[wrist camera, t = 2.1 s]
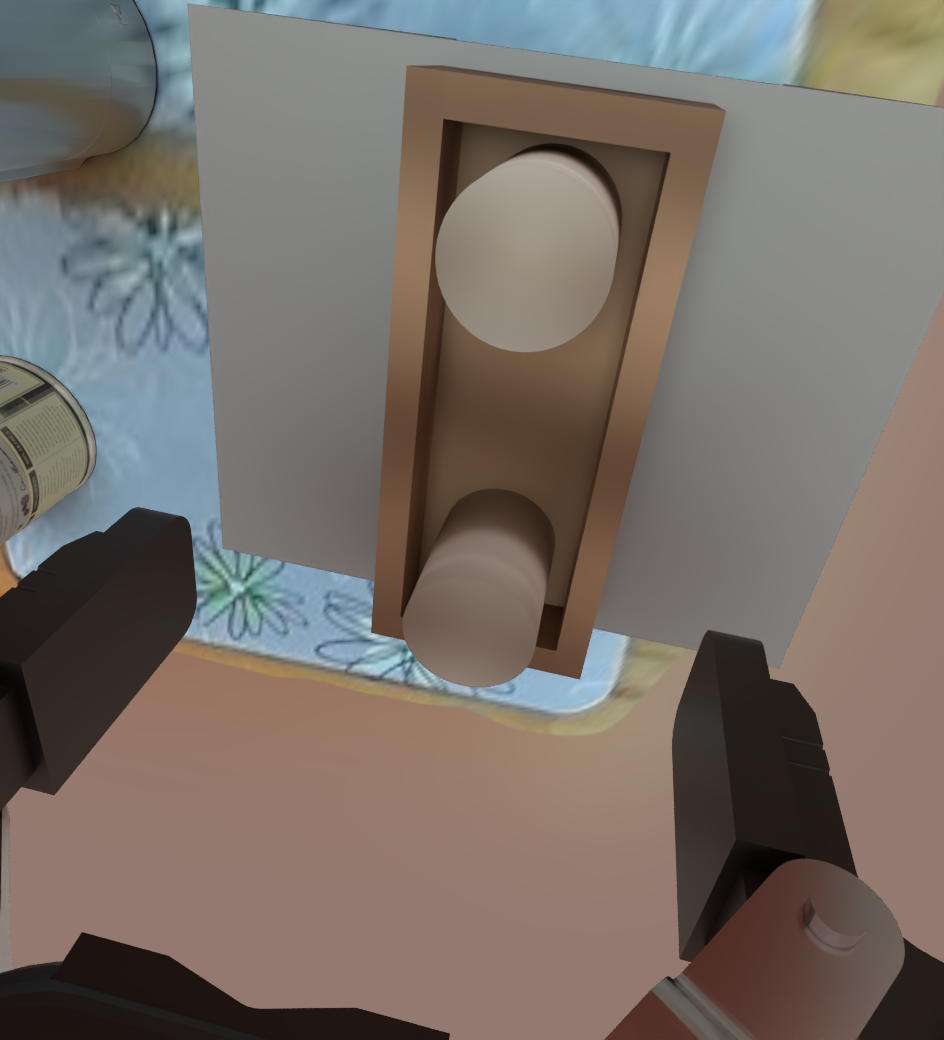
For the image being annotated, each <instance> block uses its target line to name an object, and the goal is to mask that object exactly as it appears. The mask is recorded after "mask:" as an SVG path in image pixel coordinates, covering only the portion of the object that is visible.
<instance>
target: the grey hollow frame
mask: <svg viewBox="0 0 944 1040" xmlns="http://www.w3.org/2000/svg"><path fill="white" fill-rule="evenodd" d="M188 17H189V32H190V48H191V63H192V79H193V94H194V110H195V125H196V141H197V156H198V172H199V187H200V203H201V218H202V234H203V249H204V264H205V280H206V295H207V311H208V326H209V342H210V357H211V373H212V388H213V404H214V419H215V435H216V450H217V466H218V481H219V497H220V512H221V528H222V543H223V549H228V550H233V551H237V552H242V553H247V554H251V555H256V556H260V557H265V558H270V559H274V560H279V561H284V562H288V563H293V564H297V565H302V566H307V567H311V568H316V569H321V570H325V571H330V572H334V573H339V574H344V575H348V576H353V577H358V578H362V579H367V580H372V581H374V580H375V564H376V548H377V532H378V515H379V499H380V483H381V467H382V451H383V435H384V419H385V403H386V387H387V371H388V355H389V338H390V322H391V306H392V290H393V274H394V258H395V242H396V226H397V210H398V194H399V178H400V161H401V145H402V129H403V113H404V97H405V81H406V66H409V65H444V66H451V67H458V68H465V69H472V70H479V71H486V72H493V73H500V74H507V75H514V76H521V77H528V78H535V79H542V80H549V81H556V82H563V83H571V84H578V85H585V86H592V87H599V88H606V89H613V90H620V91H627V92H634V93H641V94H648V95H655V96H662V97H669V98H676V99H683V100H690V101H697V102H704V103H712V104H715V105H717V106H719V107H720V108H722V109H724V110H725V111H726V114H725V118H724V122H723V126H722V130H721V133H720V137H719V141H718V145H717V149H716V153H715V157H714V161H713V164H712V168H711V172H710V176H709V180H708V184H707V188H706V192H705V196H704V199H703V203H702V207H701V211H700V215H699V219H698V223H697V227H696V230H695V234H694V238H693V242H692V246H691V250H690V254H689V258H688V262H687V265H686V269H685V273H684V277H683V281H682V285H681V289H680V293H679V296H678V300H677V304H676V308H675V312H674V316H673V320H672V324H671V327H670V331H669V335H668V339H667V343H666V347H665V351H664V355H663V359H662V362H661V366H660V370H659V374H658V378H657V382H656V386H655V390H654V393H653V397H652V401H651V405H650V409H649V413H648V417H647V421H646V424H645V428H644V432H643V436H642V440H641V444H640V448H639V452H638V456H637V459H636V463H635V467H634V471H633V475H632V479H631V483H630V487H629V490H628V494H627V498H626V502H625V506H624V510H623V514H622V518H621V521H620V525H619V529H618V533H617V537H616V541H615V545H614V549H613V553H612V556H611V560H610V564H609V568H608V572H607V576H606V580H605V584H604V587H603V591H602V595H601V599H600V603H599V607H598V611H597V615H596V618H595V622H594V626H593V628H594V629H598V630H603V631H608V632H612V633H617V634H622V635H626V636H631V637H635V638H640V639H645V640H649V641H654V642H659V643H663V644H668V645H673V646H677V647H682V648H686V649H691V650H696V651H698V649H699V647H700V644H701V641H702V639H703V637H704V635H705V633H706V632H707V631H708V630H713V631H718V632H722V633H727V634H732V635H736V636H741V637H746V638H751V639H755V640H760V641H761V642H762V643H763V646H764V650H765V655H766V660H767V665H768V666H770V667H775V668H779V667H780V665H781V663H782V661H783V658H784V656H785V654H786V651H787V649H788V647H789V645H790V642H791V640H792V638H793V635H794V633H795V631H796V628H797V626H798V624H799V622H800V619H801V617H802V615H803V613H804V610H805V608H806V605H807V603H808V601H809V599H810V597H811V594H812V592H813V590H814V587H815V585H816V583H817V581H818V578H819V576H820V573H821V571H822V569H823V567H824V565H825V562H826V560H827V558H828V555H829V553H830V551H831V549H832V546H833V544H834V542H835V539H836V537H837V535H838V533H839V530H840V528H841V525H842V523H843V521H844V519H845V517H846V514H847V512H848V510H849V507H850V505H851V503H852V501H853V498H854V496H855V494H856V491H857V489H858V487H859V485H860V482H861V480H862V477H863V475H864V473H865V471H866V469H867V466H868V464H869V462H870V459H871V457H872V455H873V453H874V450H875V448H876V446H877V443H878V441H879V439H880V437H881V434H882V432H883V430H884V427H885V425H886V423H887V421H888V418H889V416H890V414H891V411H892V409H893V407H894V405H895V402H896V400H897V398H898V395H899V393H900V391H901V389H902V386H903V384H904V381H905V379H906V377H907V375H908V372H909V370H910V368H911V366H912V363H913V361H914V359H915V357H916V354H917V352H918V350H919V347H920V345H921V343H922V341H923V338H924V336H925V334H926V331H927V329H928V327H929V325H930V322H931V320H932V318H933V315H934V313H935V311H936V309H937V306H938V304H939V302H940V299H941V297H942V295H943V293H944V107H938V106H931V105H925V104H918V103H911V102H904V101H897V100H891V99H884V98H877V97H870V96H863V95H856V94H850V93H843V92H836V91H829V90H822V89H815V88H808V87H801V86H793V85H786V84H783V85H776V84H769V83H762V82H755V81H747V80H740V79H733V78H726V77H718V76H711V75H704V74H697V73H689V72H682V71H675V70H668V69H660V68H653V67H646V66H639V65H631V64H624V63H617V62H610V61H602V60H595V59H588V58H581V57H574V56H566V55H559V54H552V53H545V52H537V51H530V50H523V49H516V48H508V47H501V46H494V45H487V44H479V43H472V42H465V41H458V40H456V39H453V38H445V37H438V36H431V35H424V34H416V33H408V32H401V31H393V30H386V29H378V28H370V27H363V26H355V25H348V24H340V23H332V22H325V21H317V20H310V19H302V18H294V17H287V16H279V15H271V14H264V13H256V12H249V11H241V10H233V9H226V8H218V7H211V6H203V5H195V4H188Z"/></svg>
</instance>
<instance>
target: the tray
mask: <svg viewBox="0 0 944 1040" xmlns="http://www.w3.org/2000/svg"><path fill="white" fill-rule="evenodd" d="M725 114H726V111H725V110H724V109H722V108H720V107H719V106H717V105H715V104H712V103H704V102H697V101H690V100H683V99H676V98H669V97H662V96H655V95H648V94H641V93H634V92H627V91H620V90H613V89H606V88H599V87H592V86H585V85H578V84H571V83H563V82H556V81H549V80H542V79H535V78H528V77H521V76H514V75H507V74H500V73H493V72H486V71H479V70H472V69H465V68H458V67H451V66H444V65H409V66H406V81H405V97H404V113H403V129H402V145H401V161H400V178H399V194H398V210H397V226H396V242H395V258H394V274H393V290H392V306H391V322H390V338H389V355H388V371H387V387H386V403H385V419H384V435H383V451H382V467H381V483H380V499H379V515H378V532H377V548H376V564H375V580H374V596H373V612H372V628H371V633H375V634H379V635H384V636H388V637H393V638H397V639H402V640H405V641H406V643H407V646H408V648H409V649H410V651H411V653H412V654H413V656H414V657H415V658H416V659H417V660H418V662H419V663H421V664H422V665H423V666H424V667H425V668H426V669H427V670H429V671H430V672H432V673H433V674H435V675H436V676H438V677H440V678H442V679H444V680H446V681H449V682H452V683H455V684H458V685H463V686H468V687H490V686H495V685H499V684H503V683H505V682H508V681H510V680H512V679H514V678H515V677H517V676H518V675H519V674H521V673H522V672H523V671H524V670H525V669H526V667H527V668H532V669H536V670H541V671H545V672H550V673H554V674H559V675H563V676H568V677H572V678H576V679H580V677H581V673H582V669H583V665H584V661H585V657H586V653H587V650H588V646H589V642H590V638H591V634H592V630H593V626H594V622H595V618H596V615H597V611H598V607H599V603H600V599H601V595H602V591H603V587H604V584H605V580H606V576H607V572H608V568H609V564H610V560H611V556H612V553H613V549H614V545H615V541H616V537H617V533H618V529H619V525H620V521H621V518H622V514H623V510H624V506H625V502H626V498H627V494H628V490H629V487H630V483H631V479H632V475H633V471H634V467H635V463H636V459H637V456H638V452H639V448H640V444H641V440H642V436H643V432H644V428H645V424H646V421H647V417H648V413H649V409H650V405H651V401H652V397H653V393H654V390H655V386H656V382H657V378H658V374H659V370H660V366H661V362H662V359H663V355H664V351H665V347H666V343H667V339H668V335H669V331H670V327H671V324H672V320H673V316H674V312H675V308H676V304H677V300H678V296H679V293H680V289H681V285H682V281H683V277H684V273H685V269H686V265H687V262H688V258H689V254H690V250H691V246H692V242H693V238H694V234H695V230H696V227H697V223H698V219H699V215H700V211H701V207H702V203H703V199H704V196H705V192H706V188H707V184H708V180H709V176H710V172H711V168H712V164H713V161H714V157H715V153H716V149H717V145H718V141H719V137H720V133H721V130H722V126H723V122H724V118H725Z"/></svg>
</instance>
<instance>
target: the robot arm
mask: <svg viewBox="0 0 944 1040" xmlns="http://www.w3.org/2000/svg"><path fill="white" fill-rule="evenodd" d="M155 91H156V64H155V59H154V54H153V49H152V43H151V40H150V37H149V35H148V32H147V29H146V26H145V23H144V21H143V19H142V17H141V15H140V13H139V11H138V9H137V7H136V6H135V4H134V2H133V0H0V182H5V181H11V180H16V179H22V178H27V177H33V176H38V175H44V174H49V173H55V172H60V171H66V170H71V169H77V168H79V167H81V165H82V164H83V162H84V161H85V160H86V159H87V158H88V157H90V156H96V155H102V154H108V153H112V152H114V151H117V150H119V149H121V148H124V147H125V146H127V145H128V144H129V143H130V142H131V141H133V140H134V139H135V138H136V137H137V136H138V135H139V133H140V132H141V130H142V129H143V128H144V126H145V125H146V123H147V121H148V118H149V115H150V113H151V110H152V108H153V103H154V97H155ZM196 603H197V592H196V580H195V569H194V558H193V547H192V536H191V528H190V524H189V522H188V520H187V519H186V518H185V517H182V516H178V515H173V514H168V513H164V512H159V511H154V510H149V509H145V508H140V507H136V508H133V509H131V510H130V511H128V512H127V513H126V514H125V515H124V516H122V517H121V518H120V519H119V520H118V521H117V522H116V523H114V524H113V525H112V526H111V527H110V528H109V529H107V530H106V531H105V532H104V533H103V532H99V531H95V532H93V533H91V534H89V535H86V536H84V537H82V538H80V539H77V540H75V541H73V542H71V543H68V544H66V545H64V546H62V547H61V548H60V549H58V550H57V551H56V552H55V553H54V554H52V555H51V556H50V557H49V558H47V559H46V560H45V561H44V562H43V563H41V564H40V565H39V566H38V570H37V571H34V570H33V571H32V572H30V573H29V574H28V575H27V576H26V577H24V578H23V579H22V580H21V581H20V582H18V586H17V587H16V588H13V587H12V588H11V589H10V590H9V591H7V592H6V593H5V594H4V595H3V596H1V597H0V1040H449V1036H450V1034H449V1033H446V1032H442V1031H438V1030H434V1029H431V1028H427V1027H424V1026H420V1025H417V1024H413V1023H409V1022H406V1021H402V1020H399V1019H395V1018H391V1017H388V1016H384V1015H380V1014H376V1013H373V1012H370V1011H366V1010H362V1009H359V1008H298V1009H297V1008H296V1009H295V1008H293V1009H256V1008H251V1007H247V1006H245V1005H243V1004H241V1003H240V1002H238V1001H237V1000H235V999H234V998H232V997H230V996H229V995H227V994H226V993H225V992H223V991H221V990H220V989H218V988H217V987H215V986H214V985H212V984H211V983H209V982H208V981H206V980H205V979H203V978H202V977H200V976H199V975H197V974H195V973H194V972H192V971H191V970H189V969H188V968H186V967H185V966H183V965H182V964H180V963H179V962H177V961H176V960H174V959H173V958H171V957H170V956H167V955H163V954H160V953H156V952H152V951H149V950H145V949H141V948H138V947H134V946H131V945H127V944H123V943H120V942H116V941H112V940H109V939H105V938H102V937H98V936H94V935H91V934H87V933H83V932H82V933H81V935H80V936H79V938H78V939H77V941H76V942H75V944H74V945H73V947H72V949H71V950H70V952H69V953H68V955H67V956H66V958H65V959H64V961H63V962H51V963H44V964H37V965H29V966H26V967H21V968H17V969H14V966H13V962H12V955H11V947H10V934H9V892H10V889H9V888H10V887H9V886H10V882H9V881H10V816H9V810H8V807H7V803H8V801H10V799H11V798H12V797H13V796H14V795H15V794H16V792H17V791H18V790H19V789H20V788H21V787H24V788H28V789H32V790H36V791H40V792H44V793H48V794H51V795H55V794H56V793H57V791H58V790H59V789H60V788H61V786H62V785H63V784H64V783H65V782H66V780H67V779H68V778H69V777H70V775H71V774H72V773H73V772H74V770H75V769H76V768H77V767H78V765H79V764H80V763H81V762H82V760H83V759H84V758H85V757H86V755H87V754H88V753H89V752H90V751H91V749H92V748H93V747H94V746H95V745H96V743H97V742H98V741H99V740H100V738H101V737H102V736H103V735H104V733H105V732H106V731H107V730H108V729H109V727H110V726H111V725H112V724H113V722H114V721H115V720H116V719H117V717H118V716H119V715H120V714H121V712H122V711H123V710H124V709H125V708H126V706H127V705H128V704H129V703H130V701H131V700H132V699H133V698H134V696H135V695H136V694H137V693H138V691H139V690H140V689H141V688H142V687H143V685H144V684H145V683H146V682H147V680H148V679H149V678H150V677H151V676H152V674H153V673H154V672H155V671H156V669H157V668H158V667H159V666H160V664H161V663H162V662H163V661H164V659H165V658H166V657H167V656H168V655H169V653H170V652H171V651H172V650H173V648H174V647H175V646H176V645H177V643H178V642H179V641H180V640H181V639H182V637H183V636H184V635H185V633H186V632H187V630H188V628H189V626H190V624H191V622H192V619H193V616H194V613H195V609H196ZM672 758H673V759H672V760H673V787H674V815H675V843H676V871H677V901H678V927H679V957H680V959H681V960H685V961H689V962H691V963H690V964H689V965H688V966H687V967H686V968H685V969H684V970H683V971H682V973H680V974H679V975H678V976H677V977H676V978H675V979H672V978H671V977H666V978H664V979H662V980H661V981H660V982H659V983H658V984H656V985H655V986H654V987H653V988H652V989H651V990H650V991H649V992H648V993H647V994H646V995H645V996H644V997H643V998H642V1000H641V1001H640V1002H639V1003H638V1004H637V1005H636V1006H635V1007H634V1008H633V1009H632V1010H631V1011H630V1012H629V1014H628V1015H627V1016H626V1017H625V1018H624V1019H623V1020H622V1021H621V1022H620V1023H619V1024H618V1026H616V1028H615V1029H614V1030H613V1031H612V1032H611V1033H610V1034H609V1035H608V1036H607V1037H606V1038H605V1039H604V1040H944V963H943V962H941V961H939V960H937V959H936V958H934V957H932V956H930V955H929V954H927V953H925V952H923V951H922V950H920V949H918V948H917V947H916V946H914V945H913V944H911V943H910V942H909V941H907V940H906V939H905V938H903V937H902V933H901V930H900V928H899V926H898V923H897V921H896V919H895V918H894V916H893V914H892V913H891V911H890V909H889V908H888V907H887V905H886V904H885V903H884V902H883V900H882V899H881V898H880V897H879V896H878V895H877V894H876V893H875V892H874V891H873V890H872V889H871V888H870V887H869V886H868V885H866V884H865V883H864V882H863V881H862V880H860V879H859V878H858V876H857V873H856V869H855V865H854V861H853V858H852V853H851V849H850V846H849V842H848V838H847V834H846V831H845V826H844V823H843V819H842V815H841V811H840V807H839V803H838V799H837V796H836V791H835V787H834V784H833V780H832V776H829V770H830V768H829V764H828V760H827V757H826V753H825V750H823V741H822V737H821V734H820V730H819V725H818V722H817V718H816V714H815V712H814V711H813V710H812V708H811V707H810V706H809V704H808V703H807V701H806V700H805V699H804V698H803V696H802V695H801V693H800V692H799V691H798V689H797V688H796V687H795V685H794V684H792V683H787V682H782V681H778V680H773V679H770V675H769V670H768V665H767V660H766V655H765V650H764V646H763V643H762V642H761V641H760V640H755V639H751V638H746V637H741V636H736V635H732V634H727V633H722V632H718V631H713V630H708V631H707V632H706V633H705V635H704V637H703V639H702V641H701V644H700V647H699V649H698V652H697V655H696V658H695V661H694V663H693V667H692V669H691V672H690V675H689V678H688V680H687V683H686V686H685V689H684V692H683V694H682V697H681V700H680V703H679V706H678V709H677V713H676V718H675V723H674V729H673V739H672Z"/></svg>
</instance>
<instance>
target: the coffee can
mask: <svg viewBox="0 0 944 1040" xmlns="http://www.w3.org/2000/svg"><path fill="white" fill-rule="evenodd" d="M95 457H96V446H95V440H94V435H93V432H92V429H91V426H90V424H89V422H88V420H87V417H86V415H85V413H84V411H83V410H82V409H81V407H80V406H79V404H78V403H77V401H76V400H75V399H74V398H73V396H72V395H71V394H70V392H69V391H68V390H67V389H66V388H65V387H64V386H63V385H62V384H60V383H59V382H58V381H57V380H56V379H55V378H54V377H52V376H51V375H50V374H48V373H47V372H45V371H44V370H42V369H41V368H39V367H36V366H34V365H32V364H30V363H28V362H25V361H23V360H19V359H16V358H12V357H6V356H0V546H1V545H2V544H4V543H5V542H6V541H7V540H9V539H10V538H11V537H13V536H14V535H15V534H17V533H18V532H19V531H21V530H22V529H23V528H24V527H26V526H27V525H28V524H30V523H31V522H32V521H34V520H35V519H36V518H38V517H39V516H40V515H42V514H43V513H44V512H46V511H47V510H48V509H50V508H51V507H52V506H53V505H55V504H56V503H57V502H59V501H60V500H61V499H63V498H64V497H65V496H66V495H68V494H69V493H71V492H73V491H75V490H76V489H78V488H79V487H81V486H82V485H83V484H84V483H85V482H86V481H87V479H88V478H89V477H90V475H91V473H92V471H93V469H94V465H95Z"/></svg>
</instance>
